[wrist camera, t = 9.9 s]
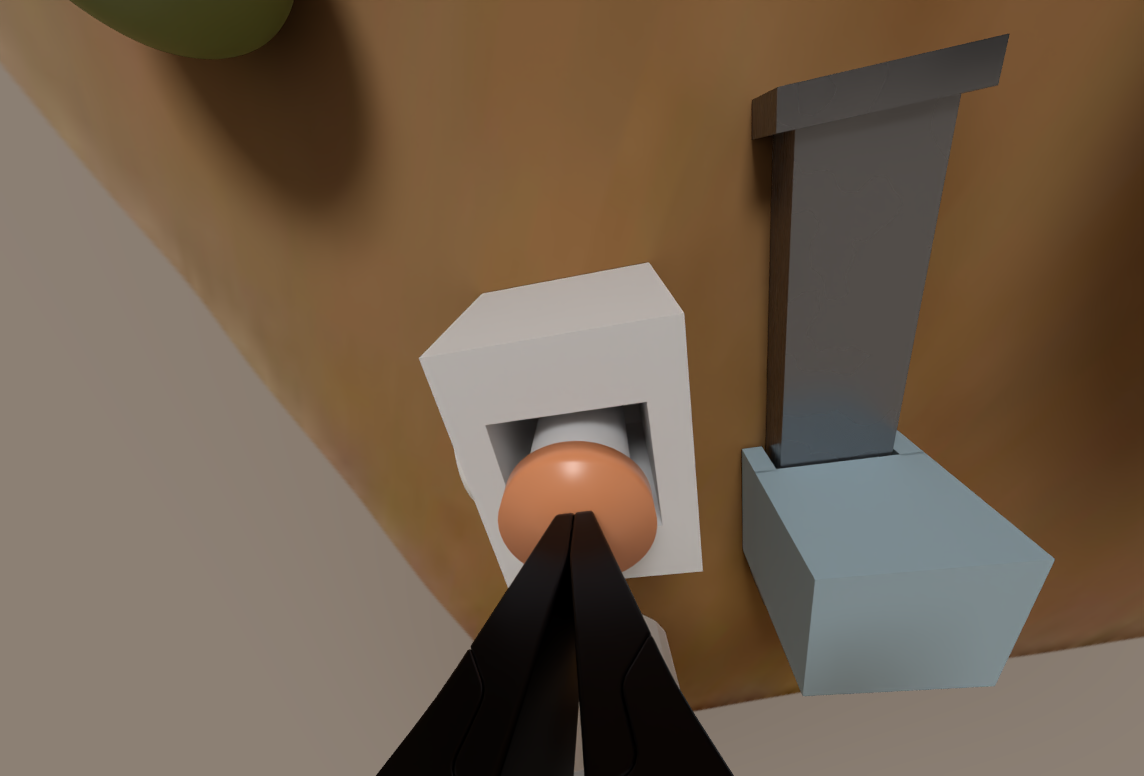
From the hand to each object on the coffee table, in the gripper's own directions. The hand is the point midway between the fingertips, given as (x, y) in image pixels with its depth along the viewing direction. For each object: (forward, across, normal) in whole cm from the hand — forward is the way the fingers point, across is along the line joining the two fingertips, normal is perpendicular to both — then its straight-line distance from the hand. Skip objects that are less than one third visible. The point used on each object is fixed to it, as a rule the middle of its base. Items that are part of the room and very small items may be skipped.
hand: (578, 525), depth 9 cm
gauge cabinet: (+8, 0, 0) cm, 8 cm away
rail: (+8, -9, +2) cm, 12 cm away
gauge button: (+6, 0, 0) cm, 6 cm away
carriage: (+8, -9, +7) cm, 14 cm away
